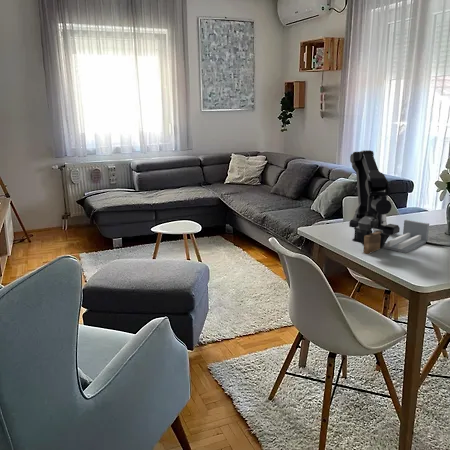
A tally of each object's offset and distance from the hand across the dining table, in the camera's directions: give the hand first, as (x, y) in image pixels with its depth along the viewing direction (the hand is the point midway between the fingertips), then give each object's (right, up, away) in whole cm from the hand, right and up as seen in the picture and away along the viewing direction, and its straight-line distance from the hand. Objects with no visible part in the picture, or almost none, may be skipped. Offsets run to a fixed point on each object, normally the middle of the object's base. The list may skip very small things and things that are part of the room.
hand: (372, 246), depth 176 cm
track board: (+16, +1, +7) cm, 17 cm away
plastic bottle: (+12, +6, +27) cm, 31 cm away
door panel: (0, -2, 0) cm, 2 cm away
